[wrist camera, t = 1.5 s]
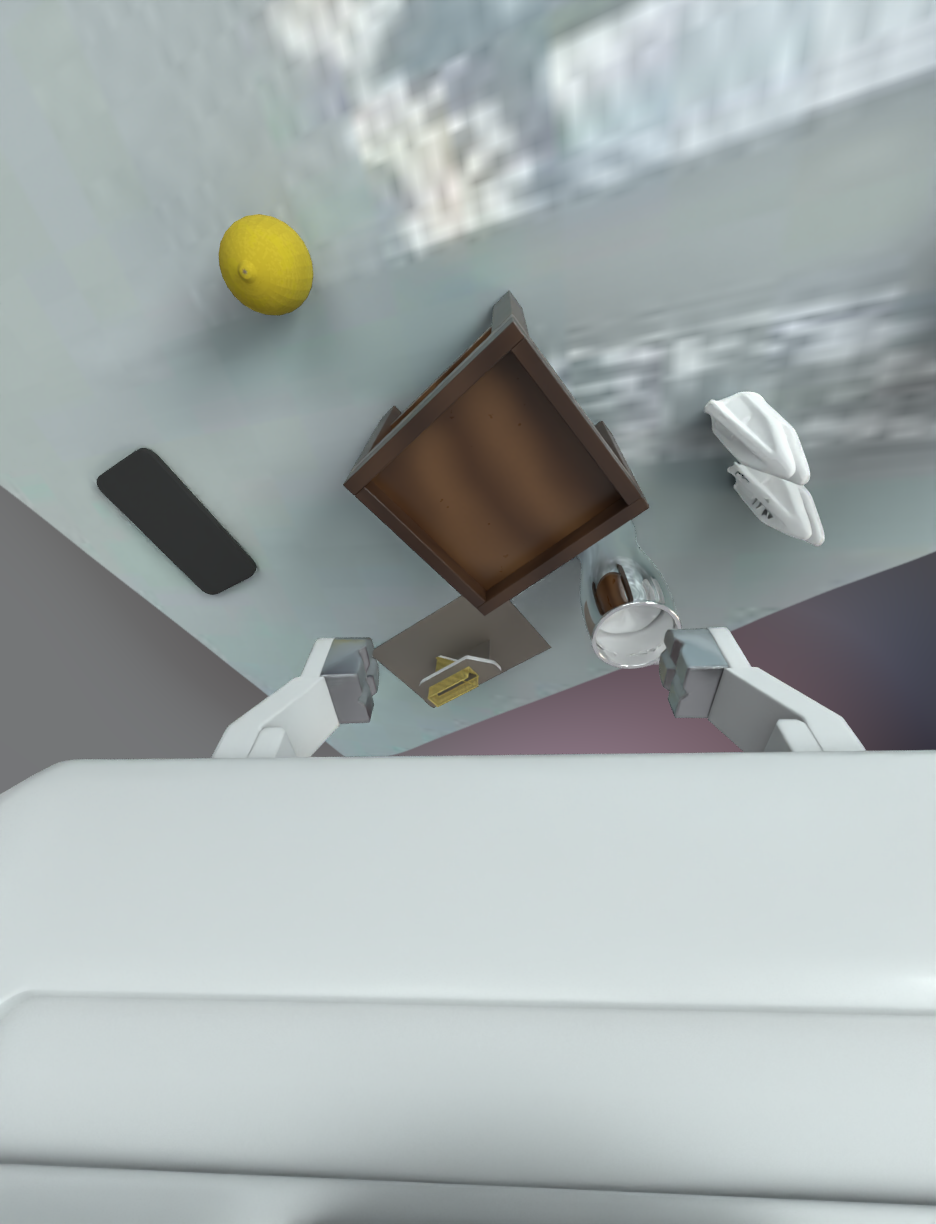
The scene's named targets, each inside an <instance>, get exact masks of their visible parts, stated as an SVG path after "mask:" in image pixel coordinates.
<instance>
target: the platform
mask: <svg viewBox="0 0 936 1224" xmlns="http://www.w3.org/2000/svg"><path fill="white" fill-rule="evenodd" d="M550 648H551V646H550V645H549V644H548V643H547V642H546V641H545V640H544V639H543V637H542V636H541V635H540V634H539V633H538V632H537V631H536V630H535V629H534V627H533V626H532V625H531V624H530V623H529V622H528V621H527V620H526V619H525V617H524V616H523V615H522V614H521V613H520V612H519V611H518V610H517V608H516V607H515V606H514V605H513V604H512V603H511V602H510V601H507V602H506V603H504V604H503V605H501V606H499V607H498V608H496V609H495V610H493V611H492V612H490V613H489V614H487V615H486V616H484V615H483V614H482V613H480V612H479V611H478V610H477V608H475V607H474V606H473V605H472V604H471V603H470V602H469V601H467V600H466V599H465V598H464V597H463V596H460V597H458V598H457V599H455V600H453V601H452V602H450V603H449V604H447V605H445V606H444V607H442V608H440V609H439V610H437V611H436V612H434V613H432V614H431V615H429V616H427V617H426V618H424V619H422V620H421V621H419V622H418V623H416V624H414V625H413V626H411V627H409V628H408V629H406V630H405V631H403V632H401V633H400V634H398V635H396V636H395V637H393V638H392V639H390V640H388V641H387V642H385V643H383V644H382V645H380V646H378V647H377V648H375V649H374V651H373V655H372V656H373V657H374V658H375V659H377V660H378V661H379V662H380V663H381V664H382V665H384V666H385V667H386V668H387V669H388V670H390V671H391V672H392V673H393V674H394V675H395V676H397V677H398V678H399V679H400V680H401V681H402V682H404V683H405V684H406V685H407V686H408V687H410V688H411V689H412V690H413V691H414V692H415V693H417V694H418V695H419V696H420V697H421V698H423V699H424V701H425V702H426V703H427V704H428V705H429V706H431V707H433V708H434V707H439V706H441V705H443V704H445V703H447V702H449V701H451V700H453V699H455V698H457V697H459V696H461V695H463V694H465V693H467V692H469V691H470V690H472V689H474V688H476V687H478V685H480V684H482V683H484V682H486V681H488V680H490V679H491V678H493V677H495V676H497V675H499V674H501V673H503V672H505V671H507V670H509V669H511V668H513V667H515V666H516V665H518V664H520V663H522V662H524V661H526V660H528V659H530V658H532V657H534V656H536V655H538V654H540V653H542V652H544V651H546V650H548V649H550Z"/></svg>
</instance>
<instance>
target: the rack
mask: <svg viewBox="0 0 936 1224" xmlns="http://www.w3.org/2000/svg"><path fill="white" fill-rule="evenodd" d="M343 485H344V486H345V487H346V488H347V489H348V490H349V491H350V492H351V493H352V494H353V495H355V497H356V498H358V499H359V500H360V501H361V502H362V503H363V504H364V505H365V506H366V507H367V508H368V509H369V510H370V511H372V512H373V513H374V514H375V515H376V516H377V517H378V518H379V519H380V520H381V521H382V522H383V523H384V524H386V525H387V526H388V527H389V528H390V529H391V530H392V531H393V532H394V533H395V534H396V535H397V536H398V537H400V538H401V539H402V540H403V541H404V542H405V543H406V544H407V545H408V546H409V547H410V548H411V549H412V550H414V551H415V552H416V553H417V554H418V555H419V556H420V557H421V558H422V559H423V560H424V561H425V562H427V563H428V564H429V565H430V566H431V567H432V568H433V569H434V570H435V571H436V572H437V573H438V574H439V575H441V576H442V577H443V578H444V579H445V580H446V581H447V582H448V583H449V584H450V585H451V586H452V587H453V588H455V589H456V590H457V591H458V592H459V593H460V594H461V595H462V596H463V597H464V598H465V599H466V600H467V601H469V602H470V603H471V604H472V605H473V606H474V607H475V608H477V610H478V611H479V612H480V613H482V614H483V615H484V616H486V615H487V614H489V613H490V612H492V611H493V610H495V609H496V608H498V607H499V606H501V605H503V604H504V603H506V602H507V601H509V600H510V599H512V598H513V597H515V596H516V595H518V594H519V593H521V592H522V591H524V590H525V589H527V588H528V587H530V586H531V585H533V584H534V583H536V582H537V581H539V580H540V579H542V578H544V577H545V576H547V575H548V574H550V573H551V572H553V571H554V570H556V569H557V568H559V567H560V566H562V565H563V564H565V563H566V562H568V561H569V560H571V559H572V558H574V557H575V556H577V555H578V554H580V553H581V552H583V551H585V550H586V549H588V548H589V547H591V546H592V545H594V544H595V543H597V542H598V541H600V540H601V539H603V538H604V537H606V536H607V535H609V534H610V533H612V532H613V531H615V530H616V529H618V528H619V527H621V526H622V525H624V524H626V523H627V522H629V521H630V520H632V519H633V518H635V517H636V516H638V515H639V514H641V513H642V512H644V511H645V510H647V509H648V508H649V504H648V503H647V501H646V499H645V497H644V495H643V493H642V491H641V489H640V487H639V485H638V483H637V481H636V479H635V477H634V476H633V474H632V472H631V470H630V468H629V466H628V464H627V462H626V460H625V458H624V456H623V454H622V452H621V451H620V449H619V447H618V445H617V443H616V441H615V439H614V437H613V435H612V433H611V432H610V431H609V429H608V428H607V426H606V425H605V424H604V422H603V421H601V422H599V423H598V424H597V425H595V426H594V425H593V423H592V422H591V420H590V419H589V418H588V416H587V415H586V414H585V412H584V411H583V409H582V408H581V407H580V405H579V404H578V403H577V401H576V400H575V398H574V397H573V396H572V394H571V393H570V392H569V390H568V389H567V387H566V386H565V385H564V383H563V382H562V381H561V379H560V378H559V376H558V375H557V374H556V372H555V371H554V370H553V368H552V367H551V365H550V364H549V363H548V361H547V360H546V359H545V357H544V356H543V354H542V353H541V352H540V350H539V349H538V348H537V346H536V345H535V343H534V342H533V341H532V339H531V338H530V337H529V334H528V330H527V326H526V322H525V318H524V314H523V310H522V307H521V306H520V305H519V303H518V302H517V300H516V299H515V298H514V296H513V295H512V293H511V292H510V291H508V292H507V293H506V294H505V295H504V296H503V297H502V298H501V299H500V300H499V301H498V302H497V303H496V304H495V305H494V306H493V314H492V325H491V326H490V327H489V328H488V329H487V330H486V331H485V332H484V333H483V334H482V335H481V336H480V337H479V338H478V339H477V340H476V341H475V342H474V343H473V344H472V345H471V346H470V347H469V348H468V349H467V350H466V351H465V352H464V353H463V354H462V355H461V356H460V357H459V358H458V359H457V360H456V361H455V362H454V363H453V364H452V365H451V366H450V367H449V368H448V369H447V370H446V371H445V372H444V373H442V374H441V375H440V376H439V377H438V378H437V379H436V380H435V381H434V382H433V383H432V384H431V385H430V386H429V387H428V388H427V389H426V390H425V391H424V392H423V393H422V394H421V395H420V396H419V397H418V398H417V399H416V400H415V401H414V402H413V403H412V404H411V405H410V406H409V407H408V408H407V409H406V410H405V411H404V412H403V413H401V412H400V411H399V410H398V409H397V408H396V406H393V407H392V408H391V409H390V410H389V411H388V412H387V413H386V414H385V415H384V416H383V417H382V419H381V420H380V422H379V424H378V425H377V427H376V429H375V431H374V432H373V434H372V436H371V438H370V439H369V441H368V443H367V444H366V446H365V448H364V450H363V451H362V453H361V455H360V456H359V458H358V460H357V462H356V463H355V465H354V467H353V469H352V470H351V472H350V474H349V475H348V477H347V479H346V481H345V482H344V484H343Z"/></svg>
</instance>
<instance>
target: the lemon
mask: <svg viewBox="0 0 936 1224" xmlns="http://www.w3.org/2000/svg"><path fill="white" fill-rule="evenodd" d="M219 265H220V269H221V273H222V277H223V279H224V281H225V283H226V285H227V287H228V288H229V290H230V291H231V292H232V294H233V295H234V296H235V297H236V298H237V299H238V300H239V301H240V302H241V303H242V304H243V305H245V306H247V307H248V308H250V309H252V310H253V311H256V312H259V313H262V314H265V315H283V314H286V313H290V312H292V311H294V310H295V309H297V308H298V307H300V306H301V305H302V303H303V302H304V301H305V300H306V298H307V297H308V295H309V292H310V290H311V287H312V281H313V266H312V261H311V258H310V254H309V252H308V250H307V248H306V246H305V244H304V242H303V241H302V239H301V238H300V237H299V236H298V234H297V233H296V232H295V231H294V230H293V229H292V228H291V227H289V226H288V225H287V224H286V223H284V222H282V221H280V220H278V219H276V218H274V217H271V216H266V215H260V214H258V215H250V216H245V217H243V218H241V219H240V220H238V221H236V222H234V223H233V224H232V225H231V226H230V228H229V229H228V230H227V231H226V232H225V234H224V236H223V238H222V241H221V243H220V249H219Z"/></svg>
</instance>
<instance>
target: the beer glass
mask: <svg viewBox="0 0 936 1224" xmlns="http://www.w3.org/2000/svg"><path fill="white" fill-rule="evenodd" d="M577 557H578V558H579V560H580V562H581V578H580V603H581V610H582V615H583V618H584V622H585V626H586V629H587V632H588V634H589V637H590V640H591V643H592V647H593V650H594V652H595V654H596V655H597V656H598V657H599V658H600V659H601V660H602V661H604V662H605V663H607V664H609V665H612V666H614V667H618V668H626V669H633V668H641V667H646V666H649V665H652V664H655V663H657V662H659V661H660V655H661V653H662V652H663V651H664V650H665V649H666V646H665V643H664V637H665V633H666V632H667V630H669V629H682V625H681V621H680V619H679V617H678V614H677V610H676V607H675V604H674V601H673V598H672V595H671V593H670V590H669V588H668V585H667V584H666V582H665V580H664V578H663V576H662V574H661V573H660V571H659V570H658V569H657V567H656V566H655V565H654V563H653V562H652V561H651V560H650V559H649V558H648V556H647V555H646V554H645V553H644V552H643V551H642V550H641V549H640V547H639V546H638V544H637V542H636V530H635V526H634V523H633V522H632V520H630V521H629V522H627V523H626V524H624V525H622V526H621V527H619V528H618V529H616V530H615V531H613V532H612V533H610V534H609V535H607V536H606V537H604V538H603V539H601V540H600V541H598V542H597V543H595V544H594V545H592V546H591V547H589V548H588V549H586V550H585V551H583V552H581V553H580V554H578V555H577Z"/></svg>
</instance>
